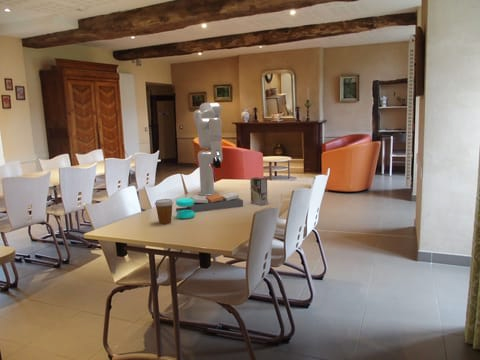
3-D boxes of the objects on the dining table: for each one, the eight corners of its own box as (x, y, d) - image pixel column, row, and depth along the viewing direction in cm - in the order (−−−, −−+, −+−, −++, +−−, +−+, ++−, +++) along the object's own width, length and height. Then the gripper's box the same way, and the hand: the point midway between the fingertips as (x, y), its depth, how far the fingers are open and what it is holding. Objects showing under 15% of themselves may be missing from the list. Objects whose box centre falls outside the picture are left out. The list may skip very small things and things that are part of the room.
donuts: (181, 197, 228) (197, 198, 225) (182, 214, 230) (197, 215, 226) (172, 200, 219) (188, 201, 216) (173, 218, 221) (189, 219, 217)
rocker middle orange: (206, 199, 248) (205, 196, 248) (218, 196, 251) (217, 193, 250) (211, 202, 238) (210, 199, 238) (223, 199, 241) (222, 196, 241)
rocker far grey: (221, 197, 252) (220, 195, 251) (232, 194, 254) (232, 191, 254) (226, 200, 242) (226, 198, 242) (238, 197, 245) (238, 194, 244)
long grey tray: (174, 209, 243) (173, 202, 242) (235, 202, 257) (235, 195, 256) (178, 214, 231) (178, 206, 230) (243, 206, 245) (242, 198, 244)
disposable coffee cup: (158, 220, 217) (157, 199, 215) (175, 220, 217) (174, 198, 215) (154, 225, 208) (152, 202, 206) (172, 225, 208) (170, 202, 206)
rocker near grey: (190, 199, 244) (190, 196, 244) (202, 199, 247) (203, 197, 247) (194, 202, 235) (195, 199, 234) (207, 203, 238) (208, 200, 237)
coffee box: (268, 203, 251) (267, 178, 248) (261, 205, 246) (261, 179, 244) (257, 201, 257) (256, 177, 254) (250, 203, 252) (249, 178, 250)
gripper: (207, 138, 247) (209, 166, 250) (211, 139, 231) (212, 169, 233) (219, 138, 249) (220, 165, 251) (223, 139, 232) (225, 168, 234)
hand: (216, 167), depth 242 cm, fingers open, 9 cm apart
